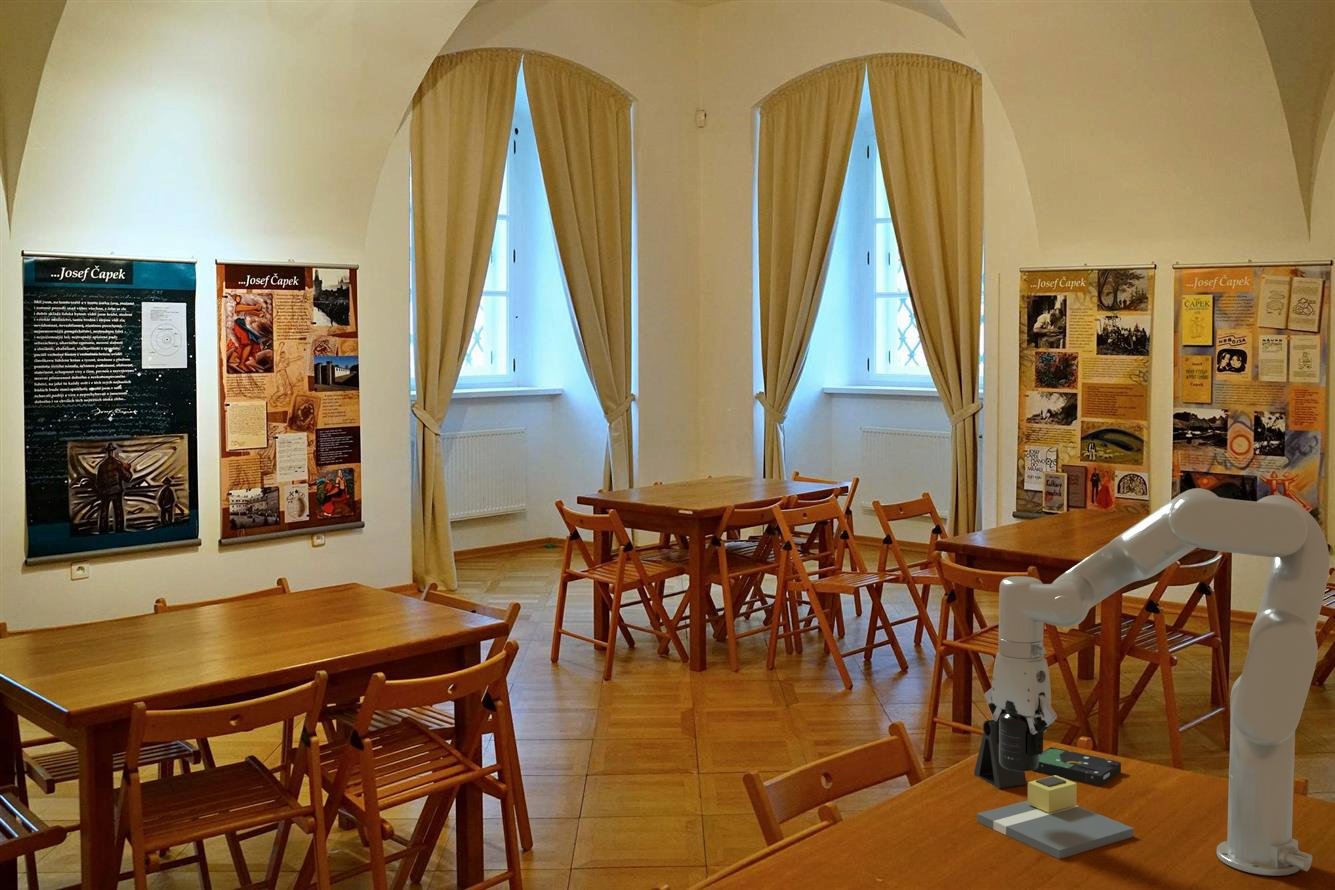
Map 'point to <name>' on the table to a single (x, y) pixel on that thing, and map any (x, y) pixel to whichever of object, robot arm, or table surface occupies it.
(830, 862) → the table surface
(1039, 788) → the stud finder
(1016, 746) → the supplement bottle
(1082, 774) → the disk drive
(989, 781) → the phone stand
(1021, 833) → the board
